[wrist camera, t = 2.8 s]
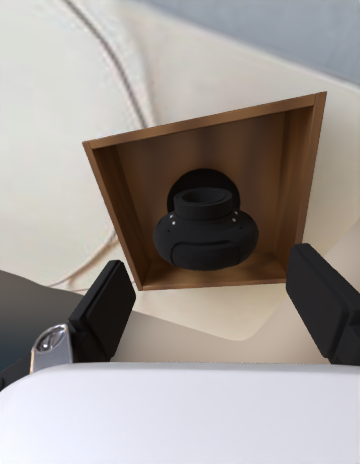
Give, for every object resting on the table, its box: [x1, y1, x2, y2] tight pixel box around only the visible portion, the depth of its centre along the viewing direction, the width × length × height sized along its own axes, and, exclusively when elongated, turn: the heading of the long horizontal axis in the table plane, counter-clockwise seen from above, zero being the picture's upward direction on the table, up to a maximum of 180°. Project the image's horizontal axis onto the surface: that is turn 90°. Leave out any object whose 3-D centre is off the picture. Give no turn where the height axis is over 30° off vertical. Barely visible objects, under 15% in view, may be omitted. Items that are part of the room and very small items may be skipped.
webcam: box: [153, 168, 259, 271], centre depth 15 cm, size 8×8×10 cm
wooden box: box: [82, 91, 327, 291], centre depth 18 cm, size 16×15×5 cm
